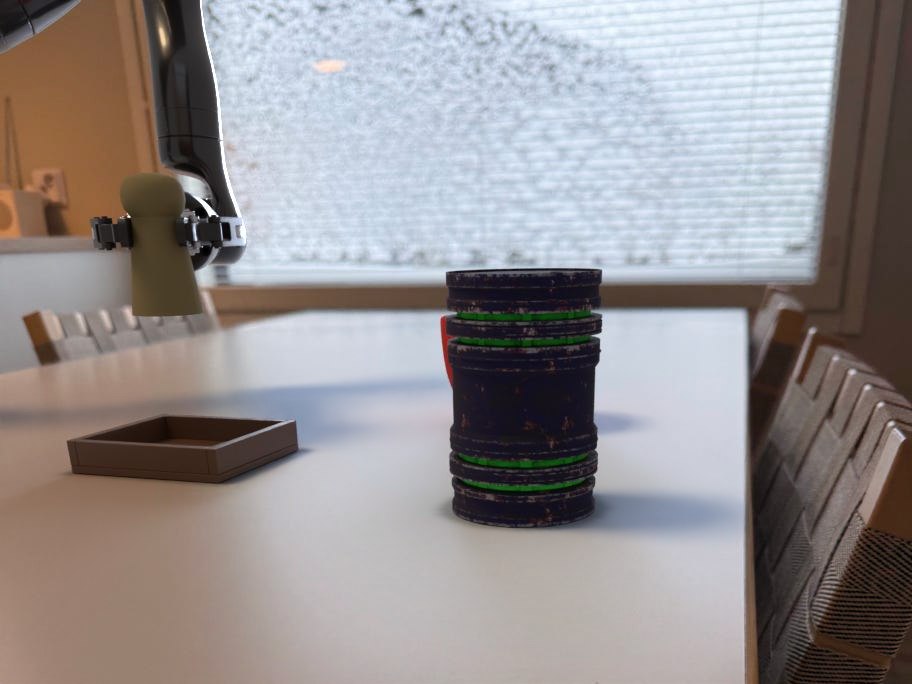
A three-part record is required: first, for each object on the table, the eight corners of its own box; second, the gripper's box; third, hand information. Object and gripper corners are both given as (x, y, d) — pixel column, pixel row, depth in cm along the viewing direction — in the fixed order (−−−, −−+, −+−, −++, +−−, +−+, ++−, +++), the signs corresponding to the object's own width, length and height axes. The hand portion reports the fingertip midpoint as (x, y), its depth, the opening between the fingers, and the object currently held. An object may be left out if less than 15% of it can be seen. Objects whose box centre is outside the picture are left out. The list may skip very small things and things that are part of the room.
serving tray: (72, 473, 76) (66, 440, 75) (166, 442, 87) (162, 413, 86) (219, 483, 72) (214, 449, 71) (299, 450, 83) (296, 420, 82)
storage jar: (421, 506, 65) (411, 272, 59) (526, 482, 71) (527, 267, 65) (518, 537, 58) (518, 275, 52) (627, 508, 64) (638, 269, 58)
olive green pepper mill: (118, 316, 81) (95, 172, 77) (155, 310, 86) (136, 175, 82) (182, 316, 80) (163, 170, 75) (216, 310, 85) (200, 174, 81)
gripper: (97, 190, 91) (52, 182, 75) (249, 189, 93) (236, 181, 77) (110, 274, 94) (69, 283, 78) (257, 271, 96) (246, 279, 80)
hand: (152, 232), depth 78 cm, fingers closed on olive green pepper mill, 4 cm apart
